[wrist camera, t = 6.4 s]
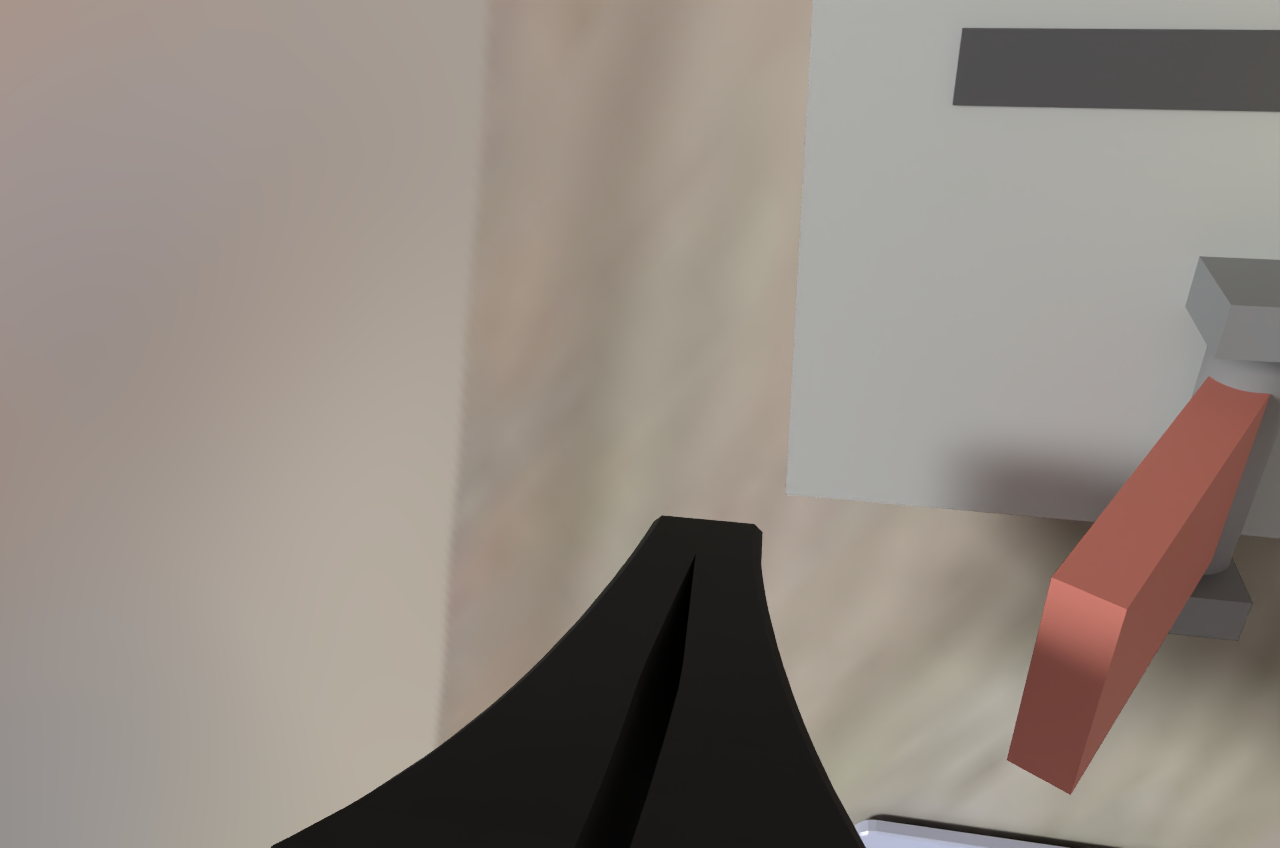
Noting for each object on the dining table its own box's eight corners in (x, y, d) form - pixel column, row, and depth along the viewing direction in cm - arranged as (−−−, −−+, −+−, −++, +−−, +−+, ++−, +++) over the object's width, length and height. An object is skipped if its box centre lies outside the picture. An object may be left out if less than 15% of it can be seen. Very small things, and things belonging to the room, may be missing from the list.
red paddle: (1240, 546, 16) (1082, 819, 12) (1162, 517, 17) (987, 766, 13) (1312, 350, 14) (1153, 596, 10) (1221, 326, 15) (1038, 548, 11)
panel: (1420, 551, 18) (1501, 668, 15) (787, 494, 20) (776, 592, 17) (2016, -653, 10) (2368, -782, 7) (847, -544, 12) (839, -620, 9)
